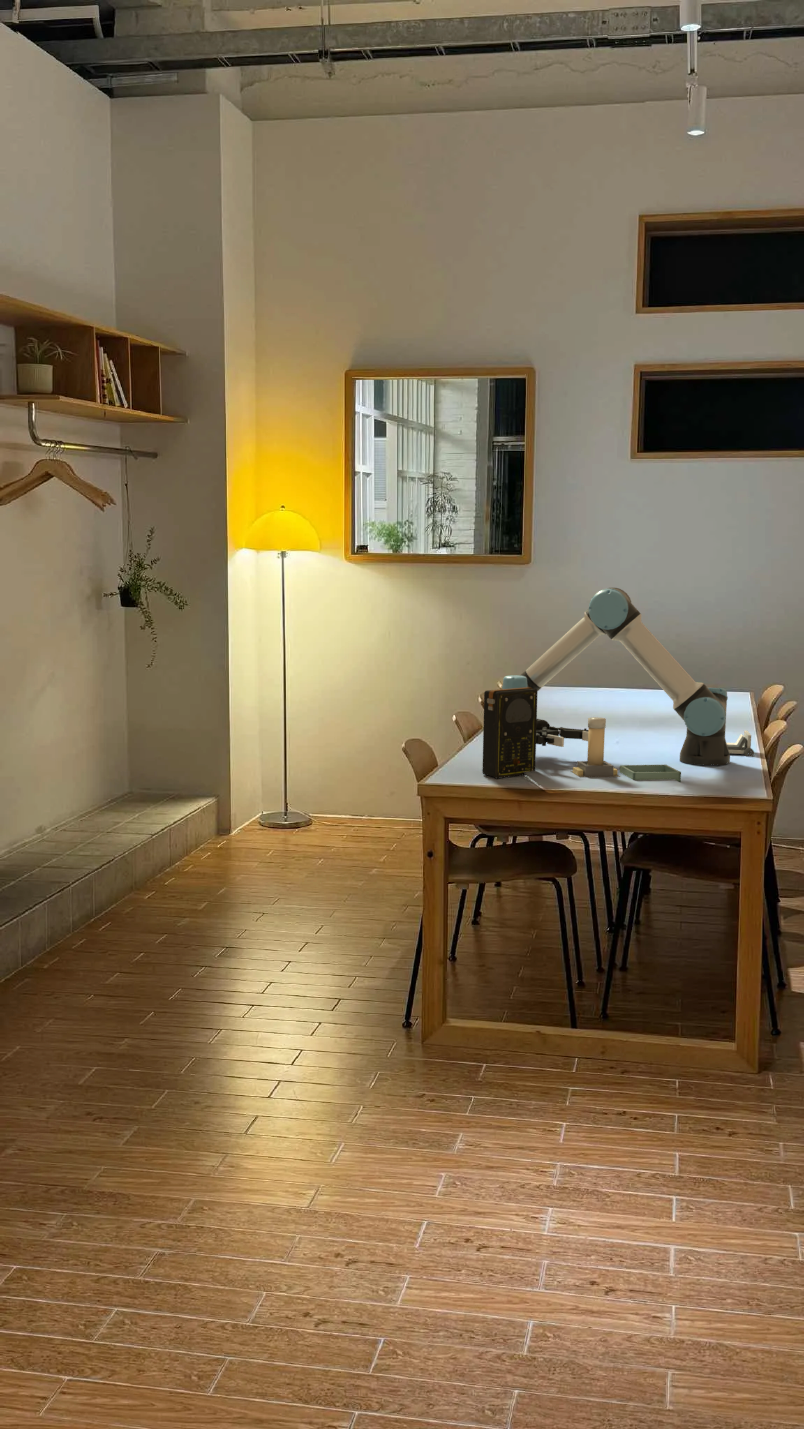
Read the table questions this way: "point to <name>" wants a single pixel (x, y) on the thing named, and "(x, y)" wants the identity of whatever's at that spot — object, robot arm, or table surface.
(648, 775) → the tray
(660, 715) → the table surface
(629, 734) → the table surface
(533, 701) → the voltmeter
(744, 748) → the phone holder
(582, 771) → the fuse holder
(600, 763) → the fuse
